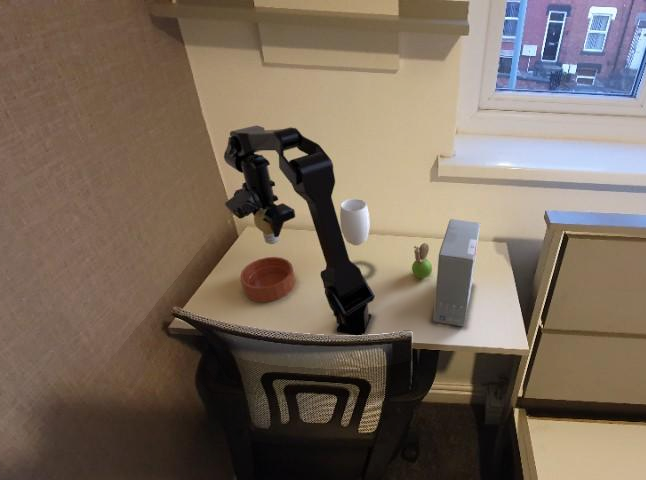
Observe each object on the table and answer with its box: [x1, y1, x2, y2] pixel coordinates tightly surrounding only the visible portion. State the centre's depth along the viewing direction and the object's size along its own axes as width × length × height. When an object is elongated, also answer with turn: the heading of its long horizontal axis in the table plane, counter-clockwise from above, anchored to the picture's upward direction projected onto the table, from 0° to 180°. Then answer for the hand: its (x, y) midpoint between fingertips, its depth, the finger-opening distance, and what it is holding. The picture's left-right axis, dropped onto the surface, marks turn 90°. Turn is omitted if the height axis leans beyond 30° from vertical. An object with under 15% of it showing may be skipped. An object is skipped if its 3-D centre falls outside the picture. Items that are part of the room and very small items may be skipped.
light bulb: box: [253, 209, 280, 245], centre depth 104 cm, size 6×6×10 cm
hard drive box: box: [433, 218, 481, 327], centre depth 94 cm, size 16×8×20 cm, turn 168°
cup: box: [339, 198, 371, 246], centre depth 102 cm, size 7×7×21 cm
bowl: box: [239, 256, 296, 303], centre depth 100 cm, size 12×12×5 cm
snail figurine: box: [411, 242, 433, 279], centre depth 104 cm, size 5×6×12 cm
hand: (270, 232), depth 105 cm, fingers closed on light bulb, 6 cm apart
